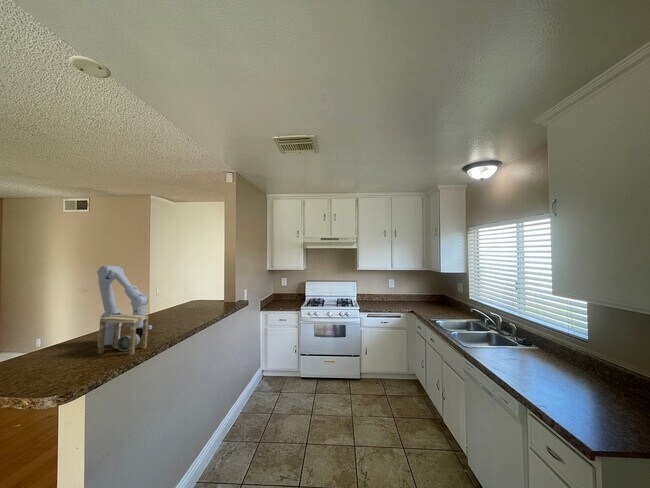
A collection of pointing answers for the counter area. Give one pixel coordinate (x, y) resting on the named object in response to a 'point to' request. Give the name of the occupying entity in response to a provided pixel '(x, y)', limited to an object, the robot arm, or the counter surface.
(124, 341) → the ceramic mug
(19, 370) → the counter surface
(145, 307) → the robot arm
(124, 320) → the counter shelf
